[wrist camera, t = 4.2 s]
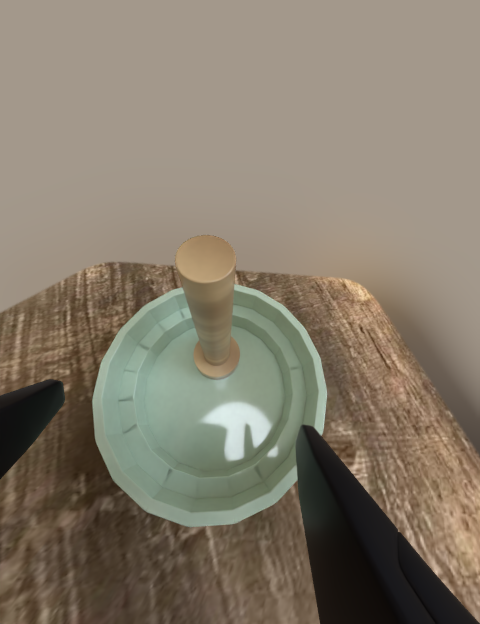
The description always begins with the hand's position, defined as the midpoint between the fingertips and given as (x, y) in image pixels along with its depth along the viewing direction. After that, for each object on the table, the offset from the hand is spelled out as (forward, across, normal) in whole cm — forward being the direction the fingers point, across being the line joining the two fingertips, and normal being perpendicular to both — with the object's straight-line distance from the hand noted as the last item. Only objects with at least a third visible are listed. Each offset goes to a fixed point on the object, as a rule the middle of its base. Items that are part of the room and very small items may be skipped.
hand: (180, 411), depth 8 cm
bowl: (+10, 0, +7) cm, 12 cm away
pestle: (+11, 0, +4) cm, 12 cm away
